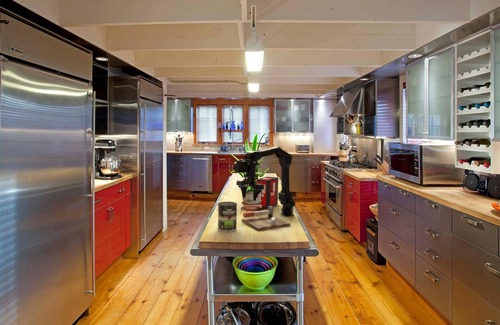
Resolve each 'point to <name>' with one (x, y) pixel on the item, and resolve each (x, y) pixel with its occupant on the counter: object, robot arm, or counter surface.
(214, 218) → the counter surface
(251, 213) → the lever
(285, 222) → the base
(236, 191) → the counter surface
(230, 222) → the coffee can
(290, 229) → the counter surface
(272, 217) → the grey brown rectangular block
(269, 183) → the cleaning product box
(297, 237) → the counter surface
